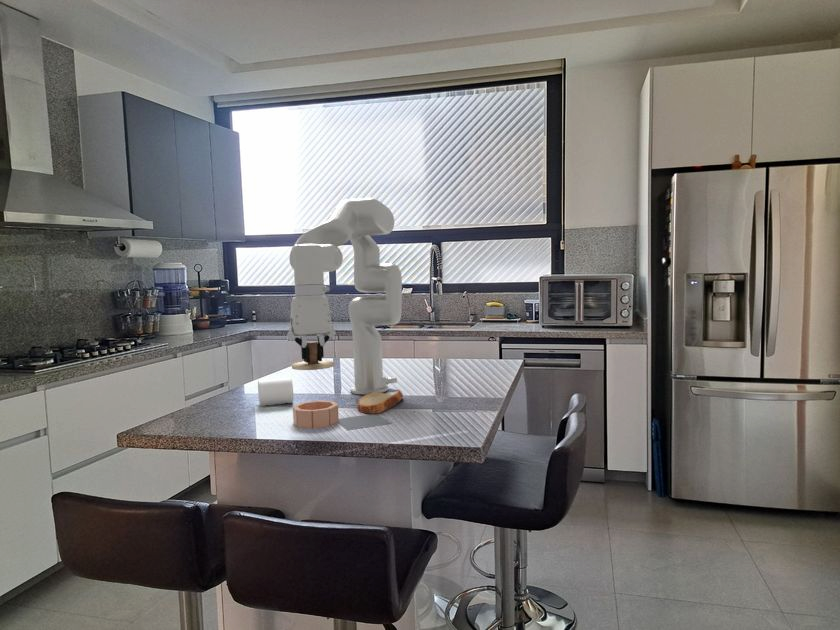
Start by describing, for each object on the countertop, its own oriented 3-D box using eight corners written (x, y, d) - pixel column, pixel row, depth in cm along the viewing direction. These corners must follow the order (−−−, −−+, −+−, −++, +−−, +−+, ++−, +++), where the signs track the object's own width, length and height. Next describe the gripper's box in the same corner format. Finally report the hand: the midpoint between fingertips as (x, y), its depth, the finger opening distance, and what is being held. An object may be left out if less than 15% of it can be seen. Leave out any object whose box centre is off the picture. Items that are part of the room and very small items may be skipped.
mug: (294, 405, 178) (292, 379, 177) (260, 409, 174) (258, 382, 174) (289, 397, 189) (288, 373, 188) (258, 400, 186) (256, 376, 185)
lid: (328, 361, 160) (327, 338, 160) (339, 367, 150) (338, 342, 150) (288, 365, 156) (286, 342, 155) (296, 371, 146) (295, 346, 145)
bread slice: (368, 415, 159) (368, 401, 159) (341, 405, 175) (340, 393, 174) (423, 405, 169) (423, 392, 169) (393, 397, 184) (392, 385, 184)
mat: (376, 415, 161) (376, 413, 161) (392, 425, 151) (392, 423, 150) (334, 421, 157) (334, 419, 157) (347, 432, 146) (347, 430, 146)
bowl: (331, 416, 162) (330, 399, 162) (342, 426, 152) (341, 407, 151) (290, 422, 157) (290, 404, 157) (300, 432, 147) (299, 412, 147)
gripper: (335, 290, 158) (338, 356, 160) (275, 292, 152) (279, 362, 153) (343, 290, 152) (346, 360, 153) (281, 293, 145) (284, 366, 146)
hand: (312, 360), depth 153 cm, fingers closed on lid, 2 cm apart
